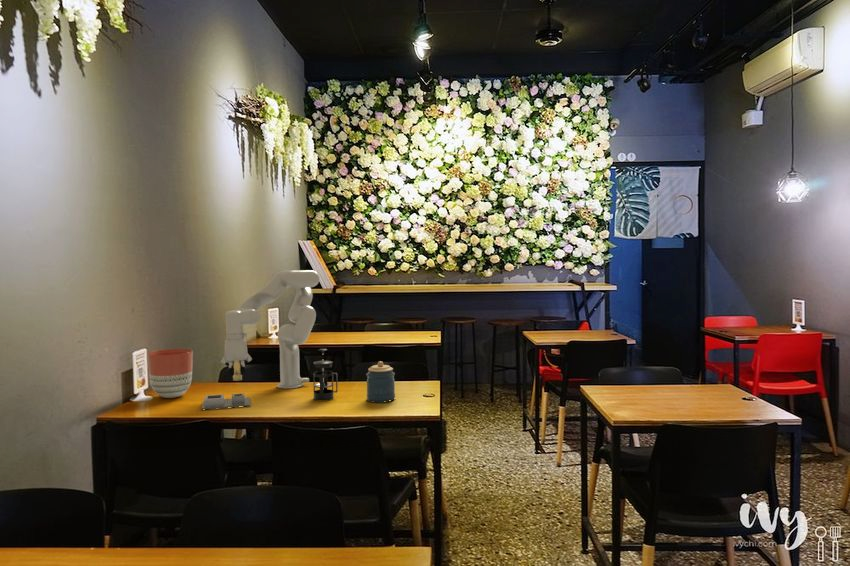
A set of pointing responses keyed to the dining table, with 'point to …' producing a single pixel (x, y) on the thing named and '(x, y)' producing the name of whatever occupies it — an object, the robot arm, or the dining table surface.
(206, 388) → the dining table surface
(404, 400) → the dining table surface
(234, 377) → the tan cylinder
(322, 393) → the french press
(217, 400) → the manifold
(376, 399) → the canister
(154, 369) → the planter
